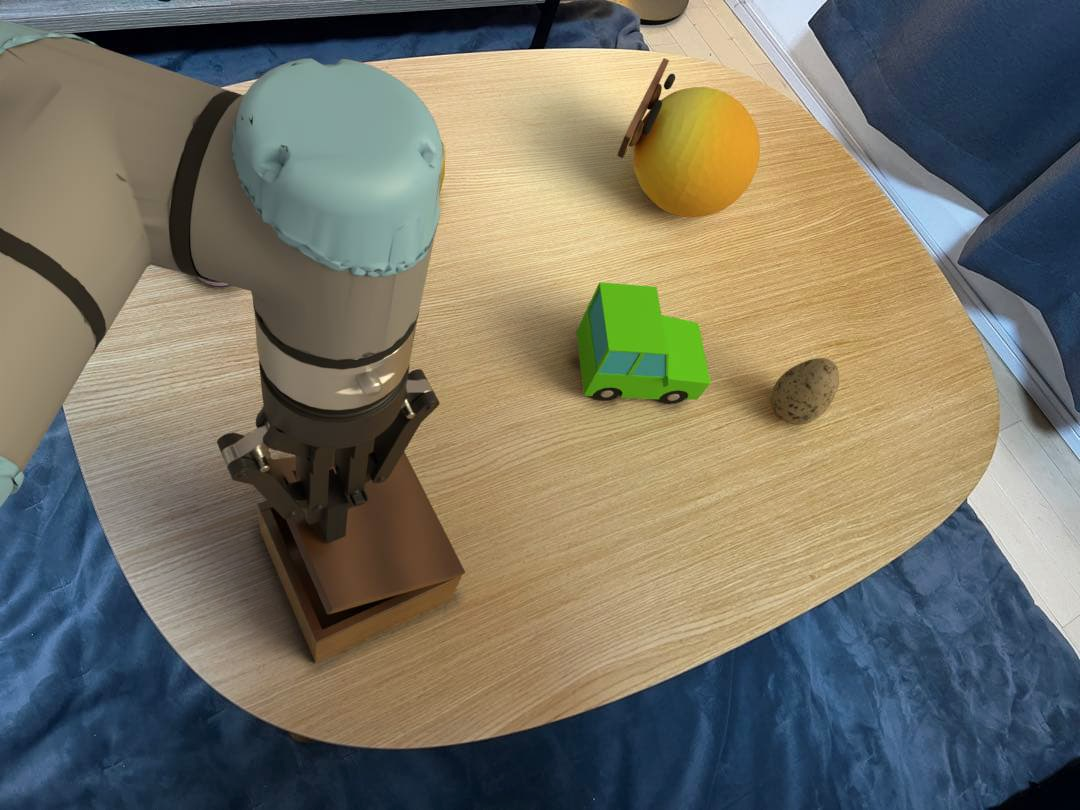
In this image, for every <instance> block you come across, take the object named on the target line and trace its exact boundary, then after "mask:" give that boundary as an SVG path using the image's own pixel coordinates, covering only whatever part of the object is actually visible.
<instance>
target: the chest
mask: <svg viewBox="0 0 1080 810" xmlns="http://www.w3.org/2000/svg"><path fill="white" fill-rule="evenodd" d="M257 512H258V513H257V514H258V520H259V528H260V533H261V537H262V540H264V544H265V547H266V549H267V551H268V553H269V556H270V558H271V561H272V562H273V565H274V568H275V570H276V573H277V575H278V577H279V580H280V582H281V584H282V587H283V589H284V592H285V594H286V596H287V599H288V601H289V603H290V606H291V608H292V611H293V613H294V615H295V617H296V620H297V622H298V625H299V627H300V629H301V632H302V635H303V637H304V639H305V641H306V644H307V646H308V650H309V651H310V653H311V656H312V658H313V660H314V663H315V664H318V663H320V662H323V661H325V660H327V659H328V658H331V657H333V656H335V655H337V654H339V653H341V652H345V650H348V649H349V648H352V647H354V646H356V645H358V644H361V643H363V642H365V641H368V640H369V639H371V638H374V637H375V636H378V635H380V634H382V633H384V632H386V631H389V630H390V629H393V628H395V627H398V626H399V625H402V624H403V623H405V622H408V621H409V620H412V619H415V618H416V617H418V616H420V615H422V614H426V613H427V612H429V611H432V610H434V609H435V608H437V607H440V606H441V605H444V604H447V603H448V602H450V601H451V600H452V598H453V595H454V594H455V592H456V589H457V588H458V585H459V583H460V582H461V579H462V576H463V575H462V576H461V577H458V578H455V579H451V580H448V581H444V582H441V583H437V584H434V585H430V586H427V587H423V588H420V589H416V590H413V591H409V592H406V593H402V594H399V595H395V596H392V597H388V598H384V599H381V600H377V601H374V602H370V603H367V604H363V605H360V606H356V607H353V608H349V609H346V610H342V611H339V612H335V613H332V614H327V613H326V610H325V608H324V606H323V603H322V601H321V599H320V597H319V594H318V592H317V590H316V587H315V585H314V583H313V580H312V578H311V576H310V573H309V571H308V569H307V567H306V564H305V562H304V560H303V557H302V555H301V553H300V550H299V548H298V546H297V544H296V541H295V539H294V537H293V534H292V532H291V530H290V527H289V525H288V523H287V521H286V519H284V518H283V517H282V516H281V515H280V514H279V513H278V512H277V511H276V510H275V509H274V508H273V506H272V505H271V504H270V503H269V502H268V501H267V500H266V499H265V500H263V501H261V502H258V503H257Z"/></svg>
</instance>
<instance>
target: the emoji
mask: <svg viewBox="0 0 1080 810" xmlns="http://www.w3.org/2000/svg"><path fill="white" fill-rule="evenodd" d="M669 62H670V60H669V59H667V58H665V57H663V58H662V59H661V62H660V64H659V66H658V68H657V70H656V73H655V74H654V76H653V78H652V80H651V82H650V84H649V86H648V88H647V90H646V91H645V94H644V96H643V98H642V100H641V102H640V104H639V106H638V108H637V109H636V112H635V114H634V116H633V117H632V120H631V121H630V124H629V125H628V128H627V129H626V132H625V134H624V135H623V139H622V141H621V143H620V146H619V148H618V152H617V154H616V156H617V157H619V158H620V159H623V158H624V157H625V155H626V153H627V151H628V150H629V147H630V148H632V147H633V149H632V164H633V169H634V173H635V176H636V178H637V182H638V185H639V186H640V188H641V190H642V191H643V192H644V194H645V196H647V197H648V199H649V200H650V201H651V202H653V203H654V204H655V205H656V206H657V207H658V208H660V209H662V210H663V211H664V212H665V211H666V212H668V213H670V214H672V215H675V216H679V217H683V218H684V217H685V218H702V217H708V216H711V215H714V214H717V213H719V212H721V211H724V210H726V209H727V208H728V207H730V206H732V205H733V204H734V203H735V202H736V201H738V200H739V199H740V198H741V196H742V195H743V194H744V193H745V192H746V191H747V190H748V187H749V186H750V185H751V184H752V181H753V180H754V177H755V175H756V173H757V169H758V165H759V161H760V157H761V156H760V155H761V143H760V142H761V141H760V136H759V132H758V128H757V126H756V123H755V121H754V119H753V117H752V115H751V114H750V113H749V111H748V109H747V108H746V107H745V106H744V105H743V104H742V103H741V102H740V101H739V100H738V99H737V98H735V97H733V96H732V95H731V94H729V93H727V92H725V91H722V90H720V89H717V88H712V87H707V86H692V87H687V88H682V89H679V90H676V91H674V92H671V93H670V94H668V95H666V96H665V97H663V98H662V99H660V97H661V94H662V90H663V89H662V88H664V90H667V91H668V90H670V89H671V88H672V86H673V85H674V82H675V80H676V75H675V74H674V73H670V74H669V75H668V76H667V77H666V79H665V80H664V83H663V87H662V84H661V83H660V82H661V80H662V78H663V76H664V73H665V71H666V68H667V66H668V65H669ZM647 111H648V112H647Z"/></svg>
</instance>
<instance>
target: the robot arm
mask: <svg viewBox="0 0 1080 810" xmlns="http://www.w3.org/2000/svg"><path fill="white" fill-rule="evenodd" d="M440 133H441V132H440V129H439V128H438V125H437V123H436V120H435V118H434V116H433V114H432V113H431V112H430V110H429V108H428V106H427V105H426V103H425V102H424V101H423V100H422V99H421V98H420V97H419V95H418V94H417V93H416V92H414V90H412V88H410V87H409V86H408V85H406V84H405V83H404V82H403V81H401V80H400V79H398V78H397V77H395V76H394V75H392V74H390V73H389V72H387V71H385V70H383V69H380V68H378V67H376V66H373V65H371V64H368V63H364V62H361V61H356V60H354V59H353V60H352V59H348V58H342V59H339V61H338V62H337V63H331V64H322V63H320V62H318V61H317V60H315V59H314V58H311V57H310V58H301V59H296V60H292V61H288V62H285V63H282V64H280V65H278V66H276V67H273V68H272V69H270V70H268V71H266V72H265V73H263V75H261V76H260V77H259V78H258V79H256V80H255V81H254V82H253V83H252V84H251V85H250V87H249V88H248V90H246V92H245V93H244V94H241V93H238V92H235V91H231V90H228V89H225V88H222V87H219V86H217V85H214V84H210V83H208V82H205V81H202V80H199V79H196V78H192V77H190V76H187V75H185V74H182V73H178V72H176V71H172V70H170V69H167V68H163V67H161V66H157V65H154V64H152V63H148V62H145V61H142V60H140V59H136V58H134V57H130V56H128V55H125V54H121V53H119V52H115V51H113V50H110V49H107V48H104V47H101V46H99V45H98V44H97V43H95V42H93V41H90V40H89V39H87V38H84V37H81V36H78V35H76V34H74V33H57V32H54V31H50V30H47V29H43V28H40V27H36V26H33V25H25V24H20V23H15V22H12V21H8V20H5V19H1V18H0V509H1V508H2V506H3V505H4V503H5V502H6V501H7V499H8V497H10V495H14V494H17V493H18V491H19V490H20V488H21V487H22V484H23V482H24V479H25V474H24V471H25V469H26V467H27V466H28V464H29V463H30V461H31V459H32V457H33V456H34V454H35V452H36V450H37V449H38V447H39V446H40V444H41V442H42V440H43V439H44V437H45V435H46V434H47V432H48V430H49V429H50V427H51V425H52V423H53V422H54V420H55V418H56V417H57V415H58V413H60V410H61V409H62V407H63V405H64V403H65V402H66V400H67V398H68V396H69V395H70V393H71V392H72V390H73V388H74V386H75V385H76V383H77V382H78V379H79V378H80V376H81V375H82V373H83V371H84V369H85V368H86V366H87V365H88V363H89V361H90V359H91V358H92V356H93V355H94V353H95V352H96V351H97V349H98V346H99V345H100V343H101V342H102V341H103V340H104V338H105V337H106V335H107V333H108V332H109V331H110V329H111V327H112V325H113V324H114V322H115V320H116V319H117V317H118V316H119V314H120V312H121V310H122V309H123V307H124V306H125V304H126V302H127V301H128V299H129V297H130V296H131V294H132V292H133V291H134V289H135V288H136V286H137V284H138V283H139V281H140V279H141V278H142V277H143V275H144V273H145V271H146V270H147V268H148V267H149V266H155V267H159V268H161V269H166V270H170V271H172V272H177V273H181V274H186V275H189V276H192V277H195V276H196V277H199V278H203V279H212V280H215V281H219V282H222V283H225V284H229V285H232V286H231V287H236V288H239V289H242V290H246V291H249V292H251V298H252V307H253V312H254V313H253V314H254V323H255V324H254V326H255V338H256V339H255V341H256V349H257V350H256V351H257V355H258V367H259V368H258V369H259V378H260V387H261V396H262V397H261V398H262V407H261V409H260V410H259V412H258V413H257V415H256V417H255V427H256V428H255V429H254V430H252V431H250V432H248V433H246V434H245V435H243V434H241V433H237V432H227V433H225V434H223V435H221V436H220V437H218V438H217V440H216V444H217V446H218V449H219V451H220V454H221V456H222V458H223V461H224V464H225V466H226V468H227V470H228V473H229V476H230V478H231V481H234V482H238V483H242V484H246V485H251V486H253V488H255V489H256V491H257V492H258V493H259V494H260V495H261V496H262V497H263V498H264V499H265V500H267V501H268V502H269V503H270V504H271V505H272V506H273V508H274V509H275V510H276V511H277V512H278V513H279V514H280V515H281V516H282V517H283V518H284V519H290V518H293V517H295V516H297V515H298V514H299V513H300V512H301V510H302V512H303V514H304V516H305V519H306V521H307V523H308V524H310V525H311V524H313V523H316V522H317V524H318V527H319V529H320V531H321V533H322V535H323V538H324V540H325V542H326V544H328V543H330V542H333V541H335V540H337V539H340V538H342V537H345V536H346V526H347V515H348V509H350V508H352V507H358V506H360V505H363V504H364V503H366V502H367V501H368V500H369V498H368V496H367V494H366V492H365V490H364V488H365V483H367V482H369V481H370V480H372V482H373V483H374V484H377V483H382V482H384V481H385V480H386V479H388V477H389V476H390V474H391V473H392V471H393V469H394V468H395V466H396V464H397V463H398V461H399V459H400V458H401V456H402V454H403V452H405V451H406V449H407V448H408V446H409V444H410V443H411V441H412V439H413V437H414V436H415V435H416V433H417V431H418V429H419V427H420V426H421V424H422V423H423V422H424V420H426V419H427V418H428V417H429V416H430V415H431V414H432V413H433V412H434V411H435V410H436V409H437V408H438V407H439V406H440V403H441V402H440V401H439V399H438V396H437V395H436V393H435V391H434V389H433V387H432V386H431V383H430V381H429V380H428V378H427V376H426V374H425V373H424V371H423V369H421V368H418V369H413V370H412V371H410V366H411V365H410V362H411V358H412V351H413V346H414V341H415V335H416V330H417V325H418V319H419V316H420V310H421V305H422V300H423V296H424V295H423V294H424V290H425V284H426V280H427V276H428V270H429V267H430V261H431V256H432V252H433V246H434V241H435V238H436V233H437V229H438V226H439V222H440V218H441V210H440V206H439V201H440V195H439V186H440V175H441V165H442V155H443V150H442V143H441V140H442V138H441V134H440ZM438 196H439V197H438ZM196 277H195V278H196ZM270 450H274V451H277V452H282V453H285V454H289V455H293V456H294V457H296V471H294V470H292V472H293V474H294V476H295V478H296V480H297V482H293V483H289V482H288V479H287V478H286V476H285V475H284V474H283V473H282V471H281V470H280V469H279V468H278V466H277V465H276V464H275V463H274V461H273V460H272V458H271V455H272V454H271V452H270ZM333 453H334V464H333ZM333 466H334V468H335V470H336V474H335V471H334V469H333V468H332V467H333ZM330 468H332V469H330ZM329 469H330V470H329Z"/></svg>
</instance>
